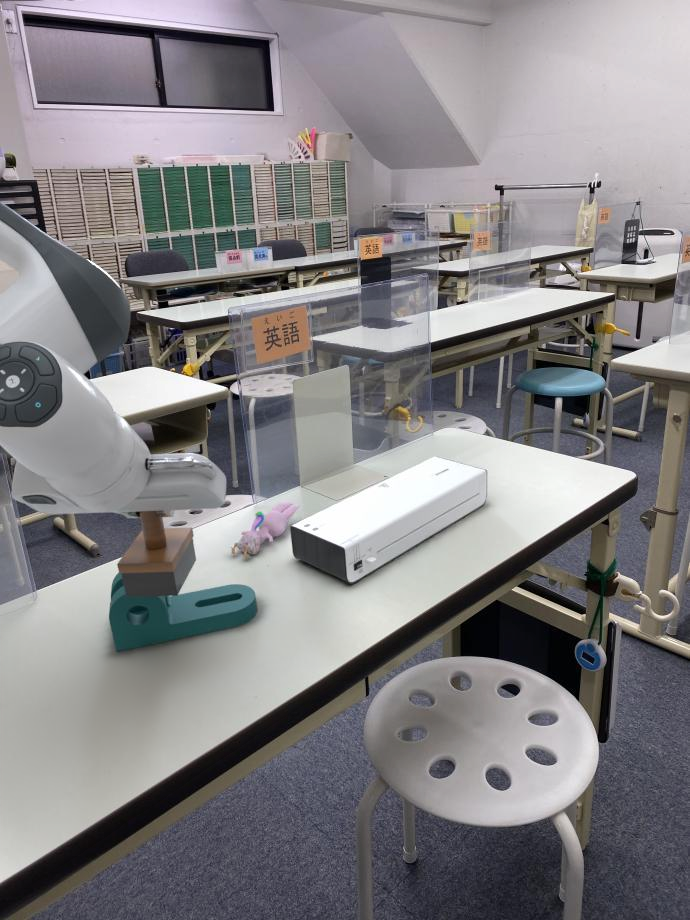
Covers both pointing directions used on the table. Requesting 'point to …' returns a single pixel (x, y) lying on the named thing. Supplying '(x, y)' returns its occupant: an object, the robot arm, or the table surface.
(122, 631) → the bracket
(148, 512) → the hand brush
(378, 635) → the table surface
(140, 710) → the table surface
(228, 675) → the table surface
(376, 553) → the laminator
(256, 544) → the rabbit figure
